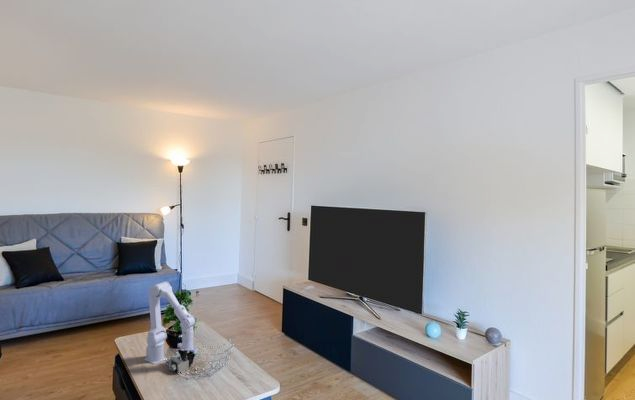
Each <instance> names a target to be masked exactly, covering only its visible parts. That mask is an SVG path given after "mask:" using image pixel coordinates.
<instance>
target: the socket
mask: <svg viewBox="0 0 635 400" xmlns="http://www.w3.org/2000/svg"><path fill="white" fill-rule="evenodd" d="M169 358H170V360H169V362H168V366H169V367H168V369H169V371H172V369H171V365H173V364H174V362H177V363H178V371H176V372H177V373H180V372H182V373H184V372H186V371H185V370H187V371H188V369H189V368H190V367H189V366H190V365H189V360H188V359H187V360H185V361H183V360H181V359H180V356H178V357H174V356H172V357H169ZM183 371H184V372H183ZM180 374H181V373H180Z"/></svg>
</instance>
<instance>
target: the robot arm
mask: <svg viewBox="0 0 635 400" xmlns="http://www.w3.org/2000/svg"><path fill="white" fill-rule="evenodd" d="M148 293H149V295H148V305H149V316H150V320H149V321H150V329H149V331H148V332H147V337H146V343H147V345H146V348H145V358H144V361H146V362H148V363H150V364H153V365H156V364H158V363H160V362H163V361H165V360H168V358H167V357H165V356H164V348H165V342H166V340H167V338H168V335H167V331H166V328H165V327H164V326H163V325H162V314H161V313H162V312H161V301H160V299H161V298H162V299H165V300H167V302H168V303H169V304H170V305H171V307H172V308H173V312H174V314H175V316H176V317H177V319H178V321H180V322H179V326H180V329H181V336H182V338H181V342H180V343H179V342H178V343H177V348H178V350H177V353H178V354H180V356H181V359H183V358H185V357H187V358H188V360H189V366H192V365H193V364H194V359H195V358H194V357H195V355H196V353H198V352H199V350H198V348H196V347H195V346H194V326H195V325H196V322H197V321H196V318H195V315H193V314H191V313H190V312H188V310H187V309H186V306H184V305H183V304H180V303H179V301H178V298H177V297H176V295H175V294H174V292H173V287H172V285H171V284H170V283H169V281H162V282H160V283H156V284H153V285H151V286H150V287H149V289H148ZM187 351H189V353H187ZM192 363H193V364H192ZM191 364H192V365H191Z"/></svg>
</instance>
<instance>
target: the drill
mask: <svg viewBox="0 0 635 400" xmlns="http://www.w3.org/2000/svg"><path fill="white" fill-rule="evenodd" d="M187 359H188V358H187V357H185V358H183V359H181V360H183V361H185V360H187ZM193 364H194V362H193V363H192V364H191V365H190V366H192V365H193ZM171 369H172V370H171V371H172V372H178V363H177V362H174V364H173V365H171ZM175 370H177V371H175Z"/></svg>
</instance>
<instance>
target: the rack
mask: <svg viewBox="0 0 635 400" xmlns="http://www.w3.org/2000/svg"><path fill="white" fill-rule="evenodd" d="M187 353H189V351H187ZM178 356H180V354H179V353H178V354H176V355H174V356H173V357H178ZM200 357H201V353H200V352H199V351H198V353H196V355H195V357H194V359H196V358H200ZM170 358H171V357H169V358H167V363H169V360H170ZM180 359H181V356H180Z"/></svg>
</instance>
